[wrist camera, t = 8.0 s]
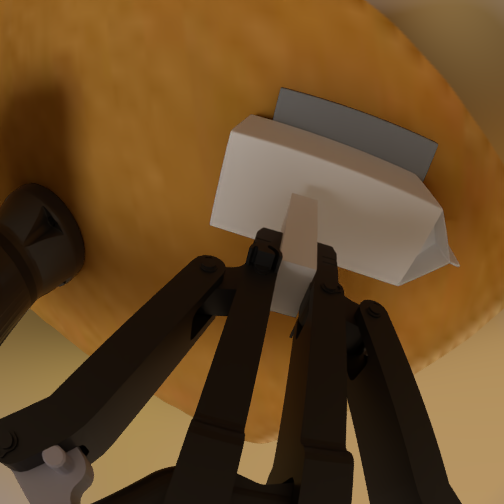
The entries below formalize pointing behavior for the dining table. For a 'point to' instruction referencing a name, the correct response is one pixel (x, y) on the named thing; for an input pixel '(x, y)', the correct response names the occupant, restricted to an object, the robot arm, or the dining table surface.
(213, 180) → the dining table surface
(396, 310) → the dining table surface
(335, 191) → the milk carton
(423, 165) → the mat
